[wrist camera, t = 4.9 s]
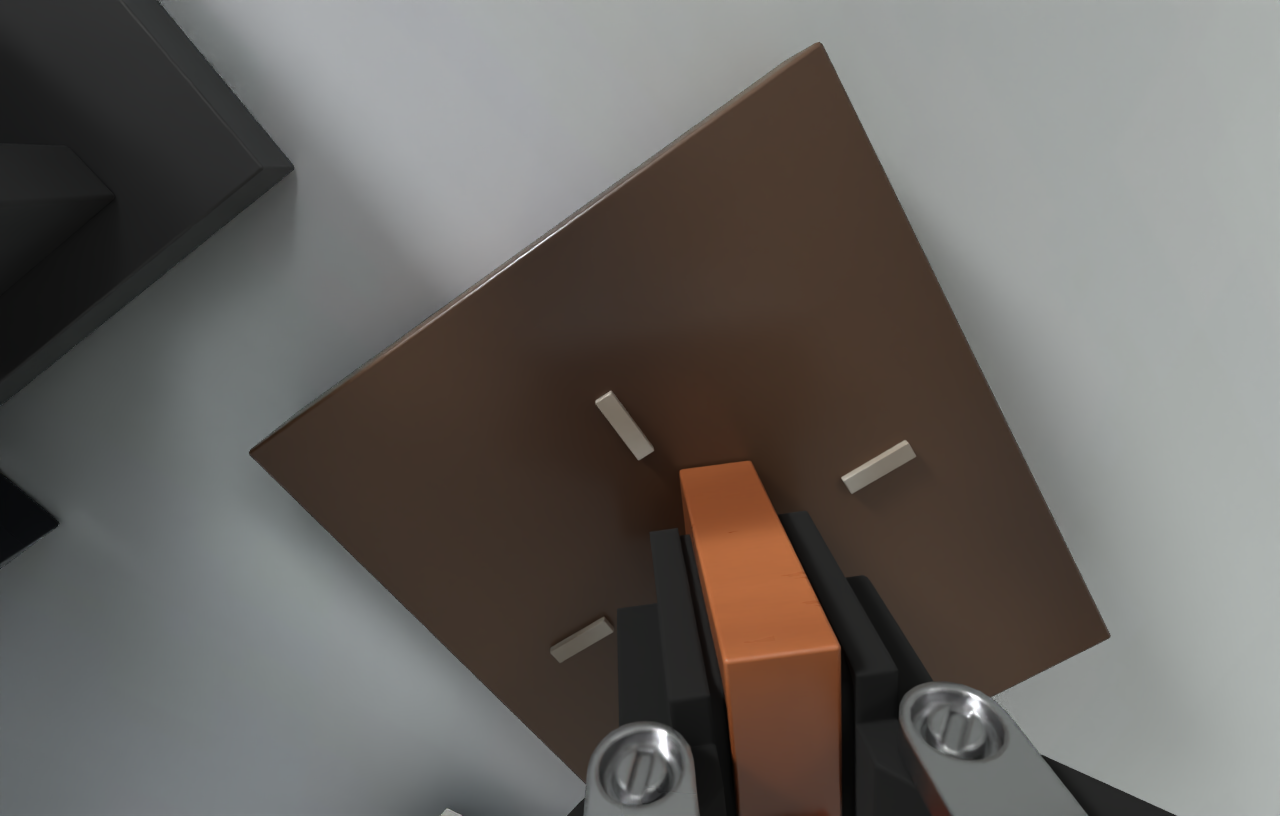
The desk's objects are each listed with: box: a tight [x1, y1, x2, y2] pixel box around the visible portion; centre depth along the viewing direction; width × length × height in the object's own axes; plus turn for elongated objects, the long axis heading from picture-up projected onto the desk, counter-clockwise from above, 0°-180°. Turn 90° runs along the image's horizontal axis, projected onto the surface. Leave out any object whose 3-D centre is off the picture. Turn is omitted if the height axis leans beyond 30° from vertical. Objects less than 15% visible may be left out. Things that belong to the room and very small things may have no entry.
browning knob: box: [679, 461, 842, 816], centre depth 10 cm, size 4×1×5 cm, turn 7°
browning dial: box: [249, 42, 1111, 784], centre depth 14 cm, size 12×14×2 cm
